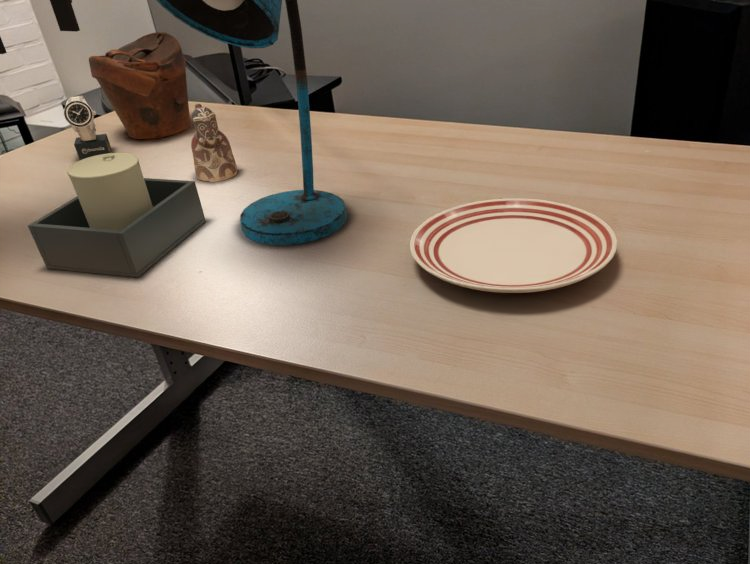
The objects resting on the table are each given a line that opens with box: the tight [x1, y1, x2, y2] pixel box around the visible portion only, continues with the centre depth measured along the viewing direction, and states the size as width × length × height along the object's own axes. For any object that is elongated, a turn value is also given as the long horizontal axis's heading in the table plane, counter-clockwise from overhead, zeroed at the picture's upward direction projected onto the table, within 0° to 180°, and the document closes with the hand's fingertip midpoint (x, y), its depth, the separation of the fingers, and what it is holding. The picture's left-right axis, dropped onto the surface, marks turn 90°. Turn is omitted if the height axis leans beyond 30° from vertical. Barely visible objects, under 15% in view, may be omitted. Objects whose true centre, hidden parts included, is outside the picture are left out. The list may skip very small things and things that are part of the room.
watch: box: [63, 95, 112, 161], centre depth 125 cm, size 6×8×11 cm
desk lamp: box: [156, 0, 348, 246], centre depth 86 cm, size 16×22×45 cm
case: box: [88, 31, 191, 140], centre depth 134 cm, size 18×20×18 cm
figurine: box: [190, 103, 238, 183], centre depth 114 cm, size 7×7×12 cm
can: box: [66, 152, 153, 231], centre depth 92 cm, size 9×9×12 cm
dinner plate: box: [409, 197, 618, 294], centre depth 88 cm, size 28×27×3 cm
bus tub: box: [27, 177, 207, 278], centre depth 94 cm, size 15×18×7 cm
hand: (35, 41), depth 88 cm, fingers open, 13 cm apart
